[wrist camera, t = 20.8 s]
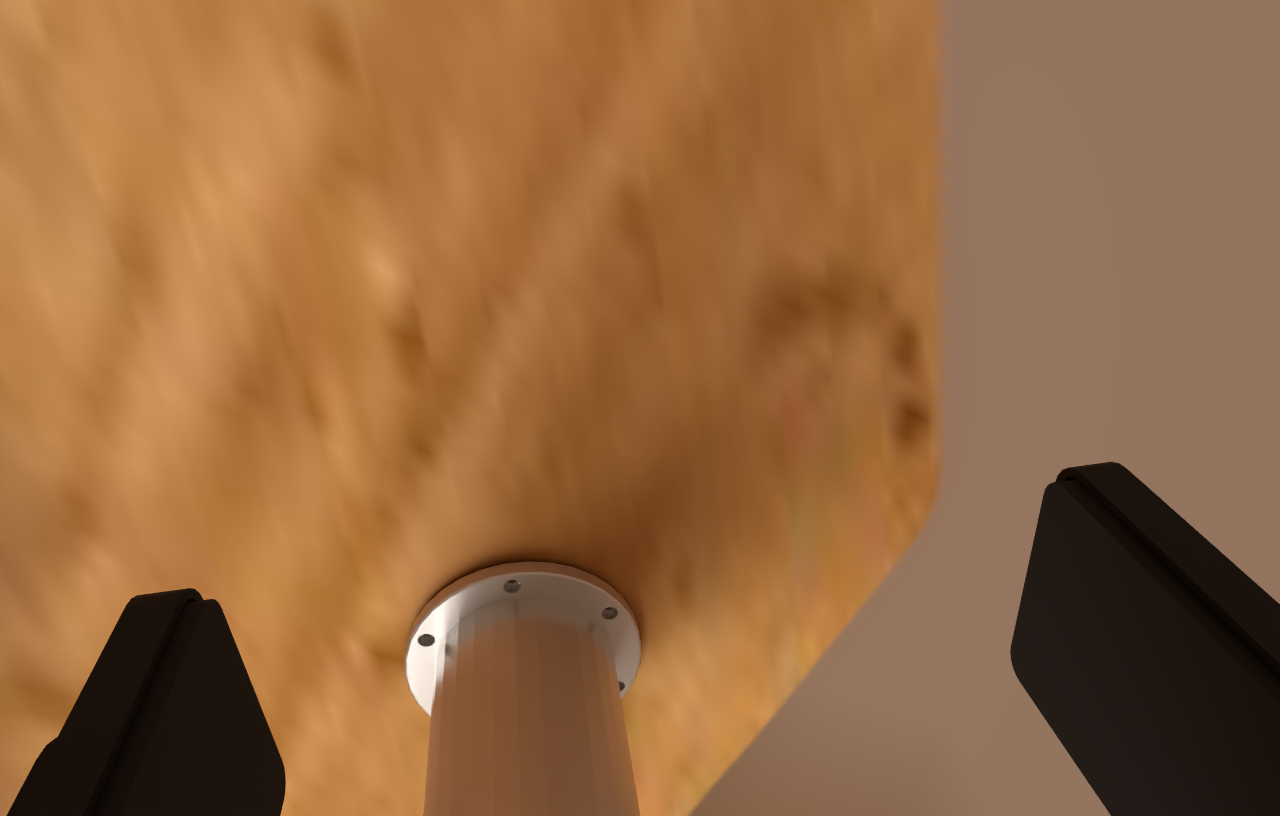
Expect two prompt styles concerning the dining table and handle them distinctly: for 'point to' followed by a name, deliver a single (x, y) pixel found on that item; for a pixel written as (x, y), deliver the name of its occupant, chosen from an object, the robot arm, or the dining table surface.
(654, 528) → the dining table surface
